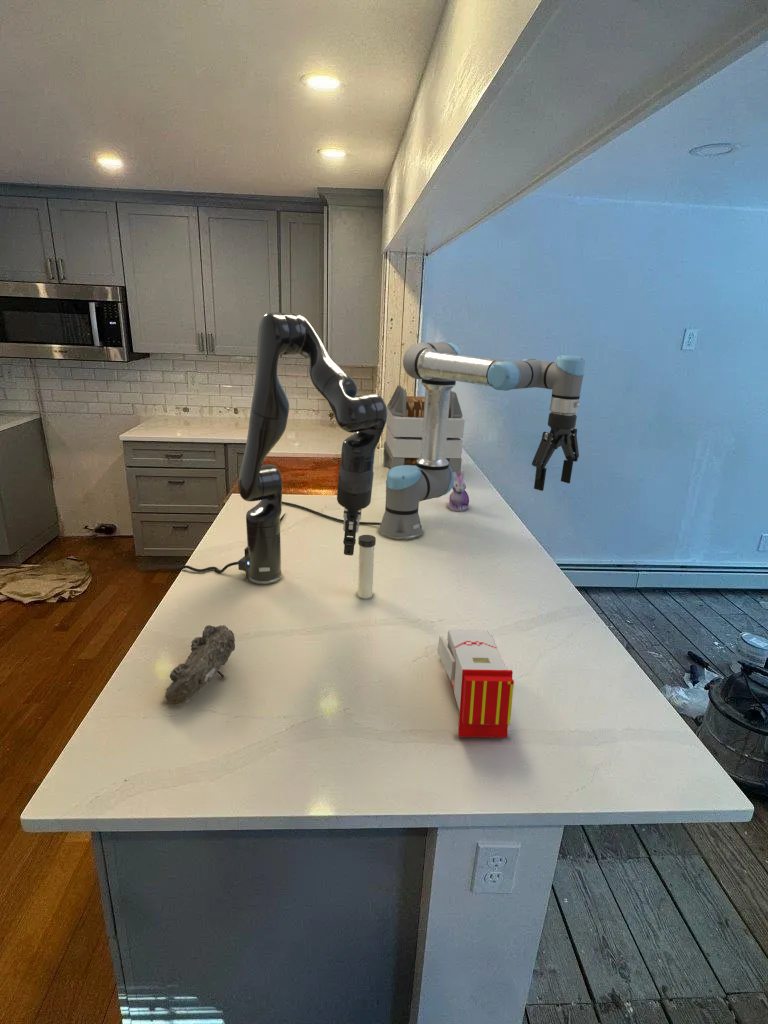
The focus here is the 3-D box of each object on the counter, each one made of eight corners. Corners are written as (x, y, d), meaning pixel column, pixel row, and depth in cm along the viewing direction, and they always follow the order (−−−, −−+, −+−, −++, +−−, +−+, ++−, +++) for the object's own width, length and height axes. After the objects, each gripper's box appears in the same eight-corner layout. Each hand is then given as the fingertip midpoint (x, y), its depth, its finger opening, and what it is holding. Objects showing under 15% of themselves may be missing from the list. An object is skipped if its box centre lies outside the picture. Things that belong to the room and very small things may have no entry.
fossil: (189, 627, 129) (235, 597, 124) (218, 656, 132) (264, 627, 127) (143, 698, 109) (196, 665, 104) (179, 729, 112) (232, 699, 107)
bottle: (375, 594, 157) (377, 539, 151) (366, 600, 154) (369, 543, 148) (363, 590, 159) (365, 535, 153) (354, 595, 156) (356, 539, 150)
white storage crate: (382, 463, 289) (386, 382, 275) (445, 464, 293) (451, 384, 279) (390, 482, 257) (394, 392, 243) (460, 483, 261) (468, 394, 247)
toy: (488, 613, 130) (523, 677, 101) (484, 667, 133) (517, 744, 104) (435, 612, 130) (455, 676, 101) (432, 666, 133) (451, 743, 103)
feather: (292, 507, 224) (294, 503, 223) (275, 531, 197) (278, 527, 197) (288, 505, 224) (291, 501, 223) (271, 528, 197) (273, 524, 197)
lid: (378, 543, 152) (379, 537, 151) (369, 548, 148) (369, 542, 148) (364, 539, 154) (364, 533, 154) (354, 544, 151) (355, 538, 150)
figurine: (455, 513, 222) (459, 476, 217) (441, 505, 231) (444, 469, 226) (475, 510, 226) (479, 474, 221) (460, 502, 235) (464, 467, 230)
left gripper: (340, 466, 130) (336, 525, 138) (335, 498, 118) (330, 560, 126) (373, 469, 130) (367, 528, 139) (371, 501, 118) (364, 563, 126)
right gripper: (548, 419, 148) (537, 496, 155) (598, 411, 163) (586, 482, 171) (525, 414, 153) (515, 489, 160) (575, 407, 169) (564, 476, 176)
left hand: (349, 543), depth 132 cm, fingers open, 8 cm apart
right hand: (552, 485), depth 166 cm, fingers open, 13 cm apart
